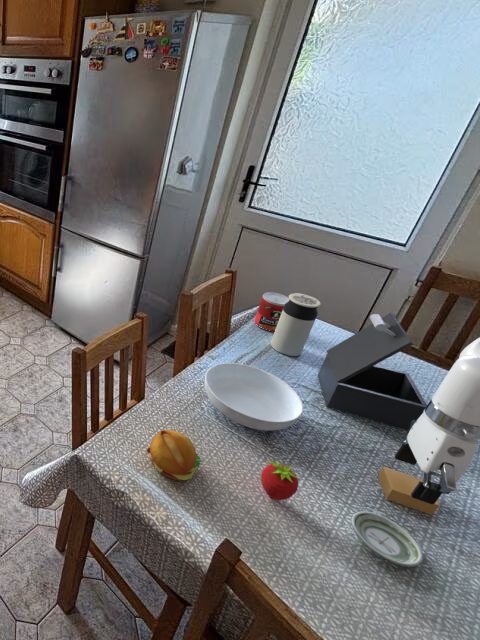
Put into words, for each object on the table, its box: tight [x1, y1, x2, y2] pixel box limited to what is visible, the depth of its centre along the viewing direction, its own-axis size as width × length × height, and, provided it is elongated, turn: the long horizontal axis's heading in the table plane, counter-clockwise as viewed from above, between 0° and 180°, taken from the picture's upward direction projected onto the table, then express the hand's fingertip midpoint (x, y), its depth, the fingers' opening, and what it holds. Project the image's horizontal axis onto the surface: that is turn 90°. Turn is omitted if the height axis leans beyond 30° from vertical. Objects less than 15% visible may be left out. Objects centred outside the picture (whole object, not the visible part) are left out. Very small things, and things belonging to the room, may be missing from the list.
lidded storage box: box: [317, 353, 428, 432], centre depth 107 cm, size 17×14×8 cm
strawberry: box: [260, 459, 299, 501], centre depth 83 cm, size 6×8×10 cm
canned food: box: [254, 291, 289, 332], centre depth 137 cm, size 8×8×11 cm
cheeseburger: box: [146, 429, 203, 482], centre depth 90 cm, size 10×11×10 cm
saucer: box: [350, 510, 424, 568], centre depth 76 cm, size 10×10×2 cm
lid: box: [326, 312, 414, 383], centre depth 104 cm, size 18×14×5 cm
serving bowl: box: [204, 362, 304, 432], centre depth 105 cm, size 21×21×7 cm
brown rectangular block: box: [377, 466, 440, 516], centre depth 85 cm, size 7×6×3 cm
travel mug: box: [269, 292, 321, 357], centre depth 125 cm, size 8×8×18 cm
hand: (412, 479), depth 83 cm, fingers open, 9 cm apart
